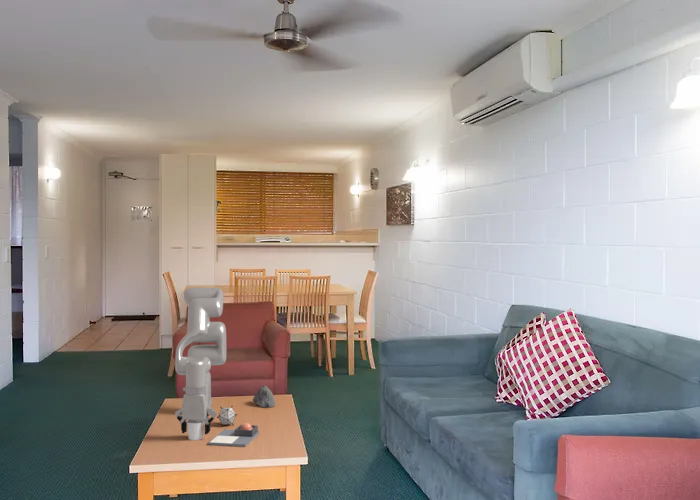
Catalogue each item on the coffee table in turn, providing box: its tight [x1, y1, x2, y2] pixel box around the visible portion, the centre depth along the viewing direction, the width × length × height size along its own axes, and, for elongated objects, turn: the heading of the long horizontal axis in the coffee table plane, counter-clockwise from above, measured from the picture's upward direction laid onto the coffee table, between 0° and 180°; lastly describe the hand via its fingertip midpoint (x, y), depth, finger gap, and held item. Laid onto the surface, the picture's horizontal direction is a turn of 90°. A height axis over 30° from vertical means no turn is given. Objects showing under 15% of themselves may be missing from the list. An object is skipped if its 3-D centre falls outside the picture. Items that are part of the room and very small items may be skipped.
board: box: [207, 424, 260, 448], centre depth 260 cm, size 18×15×4 cm
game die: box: [215, 405, 238, 427], centre depth 280 cm, size 9×8×10 cm
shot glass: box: [186, 420, 205, 441], centre depth 262 cm, size 7×7×7 cm
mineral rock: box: [252, 384, 276, 409], centre depth 315 cm, size 13×11×10 cm
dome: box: [240, 422, 253, 430], centre depth 264 cm, size 5×5×4 cm
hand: (195, 433), depth 261 cm, fingers open, 9 cm apart
